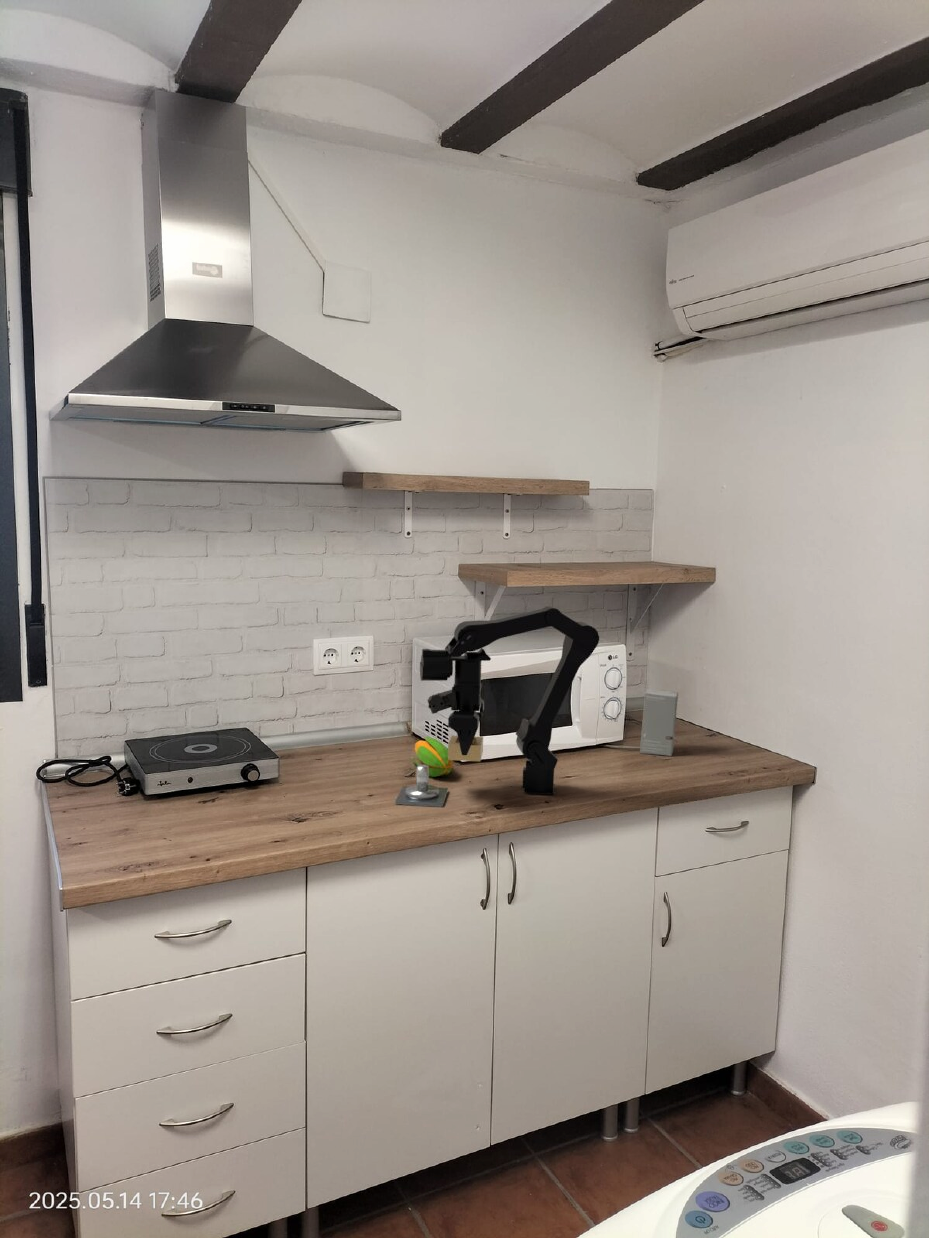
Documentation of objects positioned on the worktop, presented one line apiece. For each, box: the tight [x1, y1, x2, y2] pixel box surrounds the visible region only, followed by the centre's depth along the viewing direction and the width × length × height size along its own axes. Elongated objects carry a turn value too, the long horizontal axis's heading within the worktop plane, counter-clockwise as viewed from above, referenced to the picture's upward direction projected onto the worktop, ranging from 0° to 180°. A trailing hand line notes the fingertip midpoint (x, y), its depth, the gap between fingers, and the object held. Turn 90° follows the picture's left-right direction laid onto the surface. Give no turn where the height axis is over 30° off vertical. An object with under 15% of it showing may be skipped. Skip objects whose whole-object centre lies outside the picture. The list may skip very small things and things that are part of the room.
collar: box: [447, 735, 484, 762], centre depth 199 cm, size 7×7×4 cm
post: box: [394, 764, 449, 808], centre depth 196 cm, size 10×10×7 cm
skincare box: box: [639, 688, 679, 757], centre depth 234 cm, size 8×7×16 cm
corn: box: [410, 736, 454, 778], centre depth 216 cm, size 7×8×20 cm
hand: (466, 750), depth 199 cm, fingers closed on collar, 7 cm apart
